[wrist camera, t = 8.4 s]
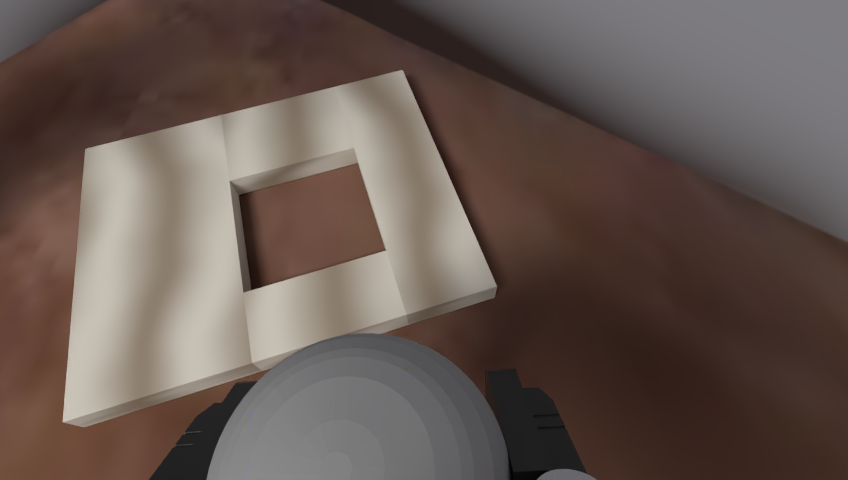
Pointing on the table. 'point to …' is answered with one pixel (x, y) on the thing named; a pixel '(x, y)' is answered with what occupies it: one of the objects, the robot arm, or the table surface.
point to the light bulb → (362, 418)
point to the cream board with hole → (226, 252)
